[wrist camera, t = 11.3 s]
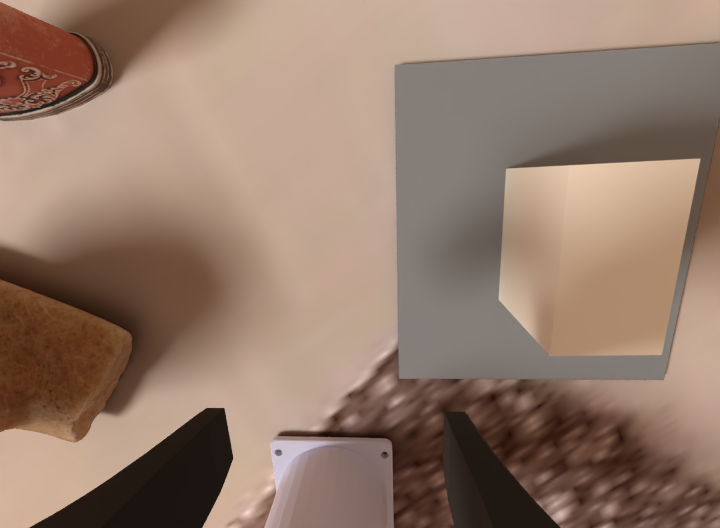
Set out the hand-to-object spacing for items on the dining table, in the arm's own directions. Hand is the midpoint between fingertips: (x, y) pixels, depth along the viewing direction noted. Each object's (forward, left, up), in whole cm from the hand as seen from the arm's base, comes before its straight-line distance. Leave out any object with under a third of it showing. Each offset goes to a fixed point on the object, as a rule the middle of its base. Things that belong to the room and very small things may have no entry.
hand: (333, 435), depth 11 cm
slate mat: (+5, -10, -9) cm, 14 cm away
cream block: (+5, -10, -9) cm, 14 cm away
